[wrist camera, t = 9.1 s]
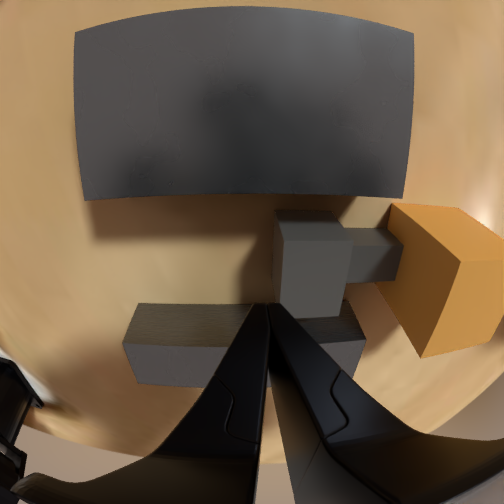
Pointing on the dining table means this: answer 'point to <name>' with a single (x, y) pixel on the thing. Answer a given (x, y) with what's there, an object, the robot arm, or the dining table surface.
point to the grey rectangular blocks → (239, 139)
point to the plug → (396, 271)
